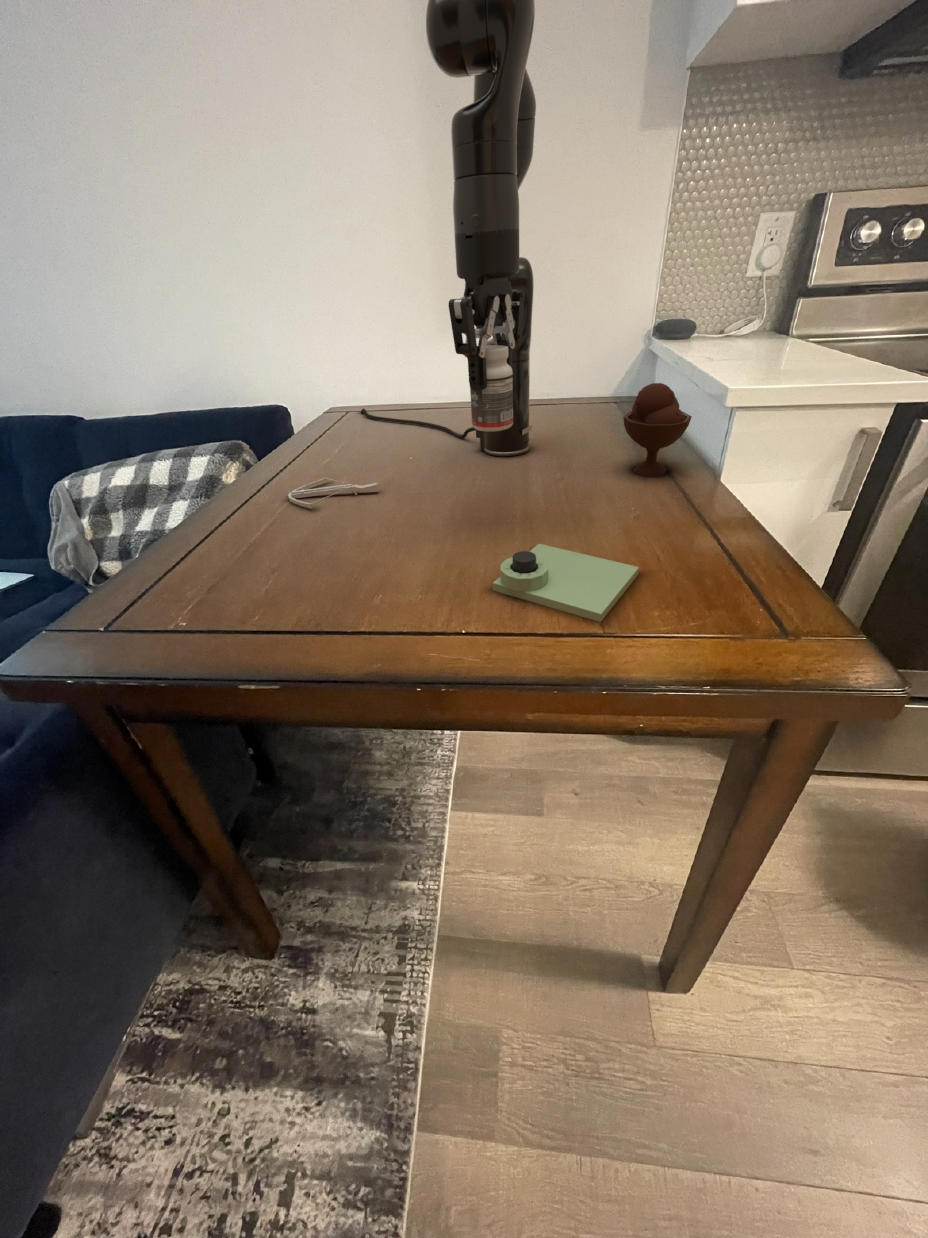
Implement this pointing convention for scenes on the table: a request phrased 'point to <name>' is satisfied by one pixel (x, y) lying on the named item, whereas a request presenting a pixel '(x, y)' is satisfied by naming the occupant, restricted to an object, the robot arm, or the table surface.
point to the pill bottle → (494, 393)
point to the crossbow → (327, 491)
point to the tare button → (524, 562)
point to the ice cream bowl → (655, 424)
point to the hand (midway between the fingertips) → (491, 383)
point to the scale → (568, 582)
